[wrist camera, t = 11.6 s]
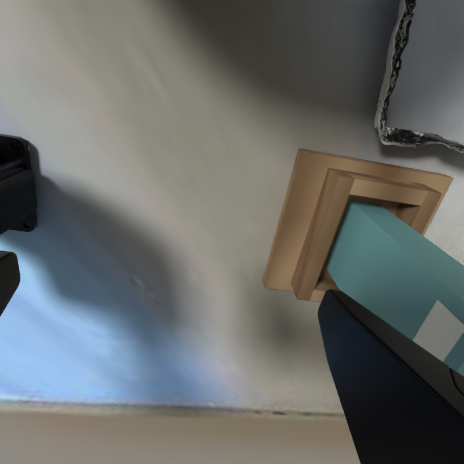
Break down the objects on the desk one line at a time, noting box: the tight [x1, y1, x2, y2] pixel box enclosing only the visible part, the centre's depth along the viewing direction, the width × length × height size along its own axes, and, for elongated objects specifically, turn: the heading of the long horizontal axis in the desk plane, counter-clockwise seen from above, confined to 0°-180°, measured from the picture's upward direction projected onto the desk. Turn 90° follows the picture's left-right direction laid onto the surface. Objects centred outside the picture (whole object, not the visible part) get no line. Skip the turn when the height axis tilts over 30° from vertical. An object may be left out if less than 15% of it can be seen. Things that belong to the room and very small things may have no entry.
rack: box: [263, 148, 453, 302], centre depth 22 cm, size 11×11×3 cm
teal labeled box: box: [325, 201, 464, 376], centre depth 17 cm, size 3×6×12 cm, turn 170°
